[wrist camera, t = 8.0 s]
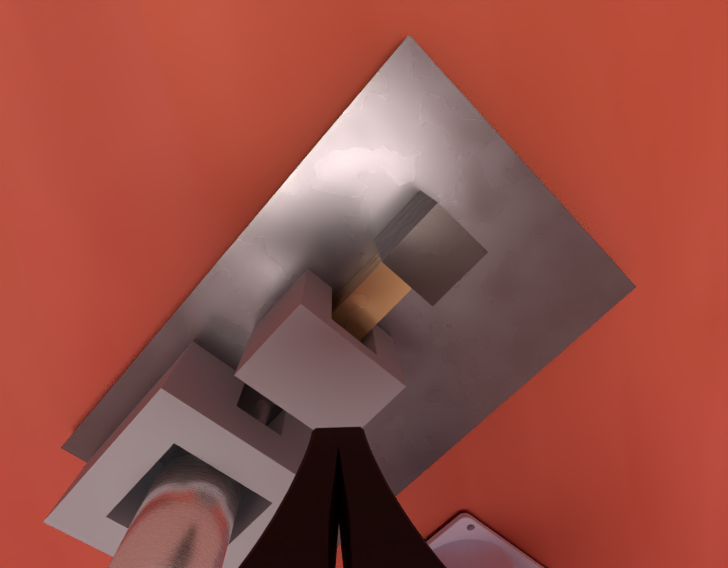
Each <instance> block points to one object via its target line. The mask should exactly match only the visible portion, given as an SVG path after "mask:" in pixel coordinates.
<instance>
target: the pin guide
mask: <svg viewBox="0 0 728 568" xmlns="http://www.w3.org/2000/svg"><path fill="white" fill-rule="evenodd" d="M331 318H332V288H331V287H330V286H329V285H328V284H326V283H325V282H324V281H323V280H321V279H320V278H319V277H318V276H317V275H315V274H314V273H313V272H312V271H310V270H309V269H307V270H306V271H305V272H304V273H303V274H302V275H301V276H300V277H299V278H298V280H297V281H296V282H295V283H294V284H293V285H292V286H291V287H290V288H289V289H288V291H287V292H286V293H285V294H284V295H283V296H282V297H281V298H280V299H279V300H278V302H277V303H276V304H275V305H274V306H273V307H272V308H271V309H270V310H269V311H268V313H267V314H266V315H265V316H264V317H263V318H262V319H261V320H260V321H259V322H258V324H257V325H256V326H255V327H254V329H253V331H252V334H251V336H250V338H249V341H248V343H247V346H246V348H245V350H244V353H243V355H242V358H241V360H240V362H239V365H238V367H237V370H236V372H235V374H234V376H236V377H237V378H239V379H240V380H242V381H243V382H244V383H246V384H247V385H249V386H250V387H252V388H253V389H255V390H256V391H258V392H259V393H260V394H262V395H263V396H265V397H266V398H268V399H269V400H271V401H272V402H273V403H275V404H276V405H278V406H279V407H281V408H282V409H284V410H285V411H287V412H288V413H289V414H291V415H292V416H294V417H295V418H297V419H298V420H300V421H301V422H302V423H304V424H305V425H307V426H308V427H310V428H311V429H313V430H314V429H315V428H330V427H361V428H363V427H364V426H365V425H366V424H367V423H368V422H369V421H370V420H371V419H372V418H373V417H374V416H375V415H376V414H377V413H378V412H380V411H381V410H382V409H383V408H384V407H385V406H386V405H387V404H388V403H389V402H390V401H391V400H392V399H393V398H394V397H396V396H397V395H398V394H399V393H400V392H401V391H402V390H403V389H404V388H405V387H406V385H405V381H404V377H403V374H402V370H401V367H400V363H399V359H398V356H397V352H396V348H395V345H394V341H393V338H392V337H391V336H390V335H388V334H387V333H386V332H385V331H384V330H382V329H381V328H380V327H379V326H377V325H375V326H374V327H373V328H372V329H371V330H370V331H369V332H368V333H367V334H366V335H365V336H364V337H363V338H362V339H361V340H360V341H359V340H357V339H356V338H355V337H353V336H352V335H351V334H350V333H348V332H347V331H346V330H345V329H343V328H342V327H341V326H340V325H338V324H337V323H336V322H335V321H333V320H332V319H331Z"/></svg>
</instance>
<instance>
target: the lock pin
mask: <svg viewBox="0 0 728 568" xmlns="http://www.w3.org/2000/svg"><path fill="white" fill-rule="evenodd" d="M374 241H375V244H376V247H377V250H378V251H377V252H376V253H375V254H374V255H373V256H372V258H371V259H370V260H369V261H368V262H367V263H366V264H365V265H364V266H363V267H362V268H361V269H360V270H359V271H358V272H357V273H356V274H355V275H354V277H353V278H352V279H351V280H350V281H349V282H348V283H347V284H346V285H345V286H344V287H343V288H342V289H341V290H340V291H339V292H338V293H337V295H336V296H335V297H334V298H333V299H332V318H331V319H332V320H333V321H335V322H336V323H337V324H338V325H340V326H341V327H342V328H343V329H345V330H346V331H347V332H348V333H350V334H351V335H352V336H353V337H355V338H356V339H357V340H359V341H360V340H361V339H362V338H363V337H364V336H365V335H366V334H367V333H368V332H369V331H370V330H371V329H372V328H373V327H374V326H375V325H376V324H377V323H378V322H379V321H380V320H381V319H382V318H383V317H384V316H385V315H386V314H387V313H388V312H389V311H390V310H391V309H392V308H393V307H394V306H395V305H396V304H397V303H398V302H399V301H400V300H401V299H402V298H403V297H404V296H405V295H406V294H407V293H408V292H409V291H410V290H411V289H413V290H414V291H415V292H417V293H418V294H419V295H420V296H421V297H422V298H423V299H424V300H426V301H427V302H428V303H429V304H430V305H431V306H432V307H433V306H434V305H435V304H436V303H437V302H438V301H439V300H440V299H441V298H442V297H443V296H444V295H445V294H446V293H447V292H448V291H449V290H450V289H451V288H452V287H453V286H454V285H455V284H456V283H457V282H458V281H459V280H460V279H461V278H462V277H463V276H464V275H465V274H466V273H468V272H469V271H470V270H471V269H472V268H473V267H474V266H475V265H476V264H477V263H478V262H479V261H480V260H481V259H482V258H483V257H484V256H485V255H486V254H487V253H488V251H487V250H486V249H485V248H484V247H483V246H482V245H481V244H480V243H479V242H478V241H477V240H476V239H475V238H474V237H473V236H471V235H470V234H469V233H468V232H467V231H466V230H465V229H464V228H463V227H462V226H461V225H460V224H459V223H458V222H457V221H456V220H455V219H454V218H453V217H452V216H451V215H450V214H449V213H448V212H447V211H446V210H445V209H444V208H443V207H442V206H441V205H440V204H439V203H438V202H436V201H435V200H434V199H432V198H431V197H429V196H428V195H426V194H425V193H424V192H422V191H421V190H420V191H419V192H418V193H417V194H416V195H415V196H414V197H413V198H412V199H411V200H410V202H409V203H408V204H407V205H406V206H405V207H404V208H403V209H402V210H401V211H400V212H399V213H398V214H397V215H396V216H395V218H394V219H393V220H392V221H391V222H390V223H389V224H388V225H387V226H386V227H385V228H384V229H383V230H382V231H381V232H380V234H379V235H378V236H377V237H376V238H375V239H374Z"/></svg>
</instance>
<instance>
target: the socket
mask: <svg viewBox="0 0 728 568" xmlns="http://www.w3.org/2000/svg"><path fill="white" fill-rule="evenodd" d="M235 372H236V371H235V370H234V369H232V368H231V367H229V366H228V365H226V364H225V363H224V362H222V361H221V360H219V359H218V358H216V357H215V356H213V355H212V354H211V353H209V352H208V351H206V350H205V349H203V348H202V347H201V346H199V345H198V344H196V343H195V342H192V343H191V344H190V345H189V346H188V347H187V349H186V350H185V351H184V352H183V353H182V354H181V355H180V357H179V358H178V359H177V360H176V361H175V362H174V363H173V365H172V366H171V367H170V368H169V369H168V370H167V371H166V373H165V374H164V375H163V376H162V377H161V378H160V379H159V381H158V382H157V383H156V384H155V385H154V386H153V387H152V389H151V390H150V391H149V392H148V393H147V394H146V395H145V397H144V398H143V399H142V400H141V401H140V402H139V403H138V405H137V406H136V407H135V408H134V409H133V410H132V411H131V413H130V414H129V415H128V416H127V417H126V418H125V419H124V421H123V422H122V423H121V424H120V425H119V426H118V428H117V429H116V430H115V431H114V432H113V433H112V434H111V436H110V437H109V438H108V439H107V440H106V441H105V442H104V444H103V445H102V446H101V447H100V448H99V449H98V450H97V452H96V453H95V454H94V455H93V456H92V457H91V459H90V460H89V461H88V463H87V464H86V465H85V467H84V468H83V469H82V471H81V472H80V473H79V475H78V476H77V477H76V479H75V480H74V481H73V483H72V484H71V485H70V487H69V488H68V489H67V491H66V492H65V493H64V495H63V496H62V497H61V499H60V500H59V501H58V503H57V504H56V506H55V507H54V508H53V510H52V511H51V512H50V514H49V515H48V516H47V518H46V519H45V520H44V523H46V524H48V525H50V526H52V527H54V528H56V529H58V530H60V531H62V532H64V533H66V534H68V535H70V536H72V537H74V538H76V539H78V540H80V541H82V542H84V543H86V544H88V545H90V546H92V547H94V548H96V549H98V550H100V551H102V552H104V553H106V554H108V555H110V556H112V557H114V555H115V553H116V551H117V549H118V547H119V545H120V544H121V542H122V540H123V538H124V536H125V534H126V532H127V530H128V528H129V527H130V525H131V523H132V521H133V519H134V517H135V515H136V513H137V511H138V510H139V508H140V506H141V504H142V502H143V500H144V498H145V496H146V494H147V493H148V491H149V489H150V487H151V485H152V483H153V481H154V479H155V477H156V475H157V474H158V472H159V470H160V468H161V466H162V463H161V462H159V461H158V460H159V459H160V458H161V457H162V456H163V455H164V454H165V452H166V451H167V450H168V449H169V448H170V447H171V446H172V445H173V444H174V443H175V444H176V445H178V446H180V447H181V448H183V449H185V450H186V451H188V452H189V453H191V454H193V455H194V456H196V457H198V458H199V459H201V460H203V461H204V462H206V463H208V464H209V465H211V466H213V467H214V468H216V469H217V470H219V471H221V472H222V473H224V474H226V475H227V476H229V477H231V478H232V479H234V480H236V481H237V482H239V483H240V484H242V485H244V488H243V492H242V496H241V499H240V503H239V507H238V510H237V514H236V518H235V521H234V525H233V529H232V532H231V536H230V540H229V544H228V547H227V551H226V555H225V558H224V562H223V566H222V568H238V567H239V566H240V564H241V563H242V562H243V560H244V559H245V558H246V556H247V555H248V554H249V552H250V551H251V549H252V548H253V547H254V545H255V544H256V542H257V541H258V539H259V538H260V536H261V535H262V533H263V532H264V530H265V529H266V527H267V525H268V524H269V522H270V521H271V519H272V517H273V516H274V514H275V512H276V510H277V509H278V507H279V505H280V503H281V502H282V500H283V498H284V496H285V495H286V493H287V491H288V489H289V487H290V485H291V483H292V481H293V479H294V477H295V475H296V473H297V471H298V469H299V466H300V464H301V462H302V459H303V457H304V455H305V452H306V450H307V447H308V444H309V441H310V438H311V433H312V431H313V429H311V428H310V427H308V426H307V425H305V424H304V423H302V422H301V421H300V420H298V419H297V418H295V417H294V416H292V415H291V414H289V413H288V412H287V411H285V410H283V411H282V412H281V413H280V414H279V415H278V416H277V417H276V418H275V419H274V420H273V421H272V422H271V423H270V424H269V425H268V426H266V425H264V424H263V423H261V422H260V421H258V420H257V419H255V418H254V417H252V416H251V415H249V414H248V413H246V412H245V411H243V410H242V409H240V408H239V407H237V403H238V400H239V397H240V395H241V392H242V389H243V386H244V382H243V381H242V380H240V379H239V378H237V377H236V376H234V374H235Z"/></svg>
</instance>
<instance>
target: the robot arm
mask: <svg viewBox="0 0 728 568" xmlns="http://www.w3.org/2000/svg"><path fill="white" fill-rule="evenodd" d="M470 524H471V525H470ZM338 529H339V530H340V540H341V550H342V560H343V568H544V567H543V566H541V565H540V564H539V563H537V562H536V561H534V560H533V559H532V558H530V557H529V556H527V555H526V554H525V553H523V552H522V551H520V550H519V549H518V548H516V547H515V546H513V545H512V544H511V543H509V542H508V541H506V540H505V539H504V538H502V537H501V536H499V535H498V534H497V533H495V532H494V531H492V530H491V529H490V528H488V527H487V526H485V525H484V524H482V523H481V522H480V521H478V520H477V519H475V518H474V517H473V516H471V515H470V514H468V513H462V514H460V515H458V516H457V517H456V518H454V519H453V520H452V521H451V522H450V523H448V524H447V525H446V526H445V527H444V528H442V529H441V530H440V531H439V532H437V533H436V534H435V535H434V536H433V537H431V538H430V539H429V540H428V541H425V540H424V539H423V537H422V536H421V535H420V533H419V532H418V531H417V529H416V528H415V526H414V525H413V524H412V522H411V521H410V519H409V518H408V516H407V515H406V513H405V512H404V510H403V508H402V507H401V505H400V504H399V502H398V501H397V499H396V497H395V496H394V494H393V492H392V490H391V489H390V487H389V485H388V483H387V481H386V480H385V478H384V476H383V474H382V472H381V470H380V468H379V466H378V464H377V462H376V460H375V458H374V456H373V453H372V451H371V449H370V446H369V444H368V441H367V438H366V435H365V431H364V429H362V428H361V427H330V428H315V429H314V430H313V431H312V433H311V438H310V441H309V444H308V447H307V450H306V452H305V455H304V457H303V459H302V462H301V464H300V466H299V469H298V471H297V473H296V475H295V477H294V479H293V481H292V483H291V485H290V487H289V489H288V491H287V493H286V495H285V496H284V498H283V500H282V502H281V503H280V505H279V507H278V509H277V510H276V512H275V514H274V516H273V517H272V519H271V521H270V522H269V524H268V525H267V527H266V529H265V530H264V532H263V533H262V535H261V536H260V538H259V539H258V541H257V542H256V544H255V545H254V547H253V548H252V549H251V551H250V552H249V554H248V555H247V556H246V558H245V559H244V560H243V562H242V563H241V564H240V566H239V567H238V568H335V566H336V554H337V541H338Z"/></svg>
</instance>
